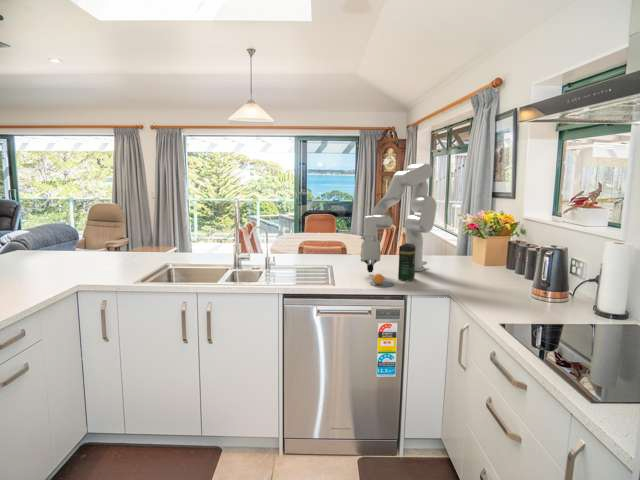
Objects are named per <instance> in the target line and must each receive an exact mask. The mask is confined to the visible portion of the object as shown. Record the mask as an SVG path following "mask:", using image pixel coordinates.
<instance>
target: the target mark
mask: <svg viewBox="0 0 640 480" xmlns="http://www.w3.org/2000/svg"><path fill="white" fill-rule="evenodd" d="M369 285H370V286H372V287H376V286H377V287H376V288H390V287H393V286H395V283H394V282H392V281H386V280H384V282H383V283H382V284H381V285H376V284H375V283H374V282H373V281H370V282H369Z"/></svg>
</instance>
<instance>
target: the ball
mask: <svg viewBox="0 0 640 480" xmlns="http://www.w3.org/2000/svg"><path fill="white" fill-rule="evenodd" d="M384 281H385V277H384V276H383V275H382V274H381V273H376V274H374V275H373V277H372V282H374V283H375V284H376V285H381V284H382V283H383V282H384Z"/></svg>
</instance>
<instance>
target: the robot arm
mask: <svg viewBox="0 0 640 480" xmlns="http://www.w3.org/2000/svg"><path fill="white" fill-rule="evenodd" d="M405 169H406V170H399V171H396V172H395V173H394V174H393V176H392V178H391V181H390V183H389V185H388V188H387V190H386V192H385V194H384V196H383V197H382V198H381V199H380V200H379V201H378V202H377V204H376V205H375V206H374V208H373V211H372V213H371V215H365V216H364V217H363V236H360V239H361V240H362V242H361V250H360V261H361V262H362V263H365V264H366V270H367V272H368V273H373V271H374V266H375V264H376V263H378V262H380V261H381V245H380V240H378V237H379V229H380V230H387V229H391V227H392V226H393V224H394V221H393V218H392V217H391V216H389V215H387V214H385V213H386V211H388V210H389V209H390V208H391V207H392V206H395V205H396V204H398V203H399V202H400V201H401V199H402V196H403V194H404V191H405V189H406V187H408V188H409V187H412V191H411V198H410V205H409V206H410V210H411V211H412V212H413V213H420V214H410V215H408V216H407V217H406V218H405V220H404V230H405V244H406V243H408V244H413V245H415V272H422V271H425V269H426V267H425V266H426V265H427V264H428V262H427V261H426V260H425V261H423V250H424V249H423V247H424V246H423V245H424V237H423V233H424V234H428V233H430V232H431V231H432V229H433V227H434V224H435V219H436V218H435V217H436V214H437V201H436V199H435V198H434V197H433V196H429V195H428V193H429V185H428V182H427V180H428V179H430V178H431V177H432V175H433V172H434V169H433V167H432V165H430V164H429V163H413V164H410V165H407V167H406V168H405Z"/></svg>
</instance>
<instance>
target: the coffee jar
mask: <svg viewBox="0 0 640 480" xmlns="http://www.w3.org/2000/svg"><path fill="white" fill-rule="evenodd" d="M415 273H416V271H415V245H413V244H408V243H406V242H405V244H402V245H400V246H399V247H398V274H397V278H398V280H401V281H413V280H414V279H415Z"/></svg>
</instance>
